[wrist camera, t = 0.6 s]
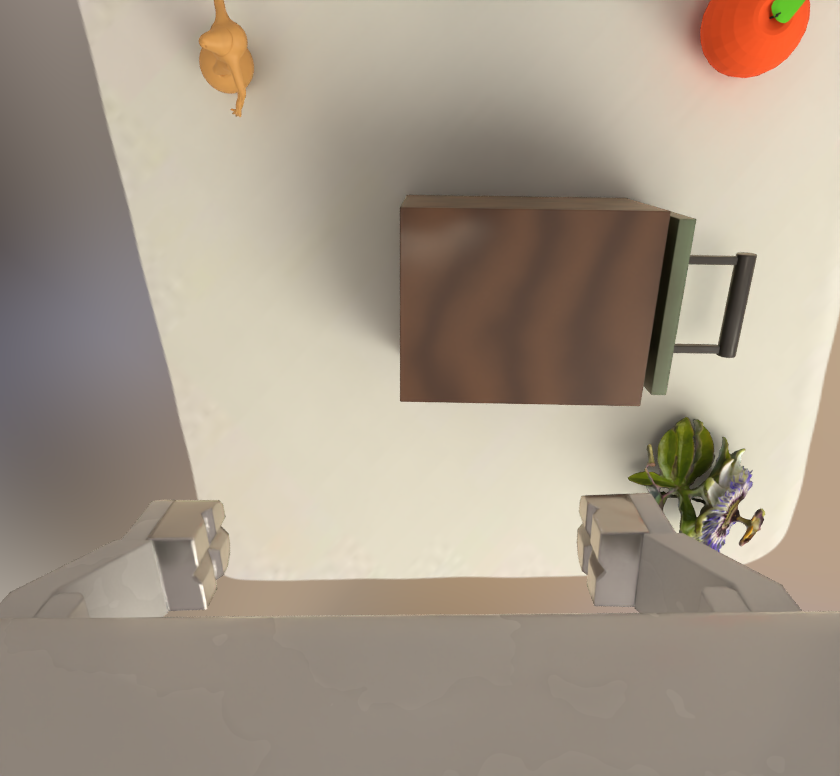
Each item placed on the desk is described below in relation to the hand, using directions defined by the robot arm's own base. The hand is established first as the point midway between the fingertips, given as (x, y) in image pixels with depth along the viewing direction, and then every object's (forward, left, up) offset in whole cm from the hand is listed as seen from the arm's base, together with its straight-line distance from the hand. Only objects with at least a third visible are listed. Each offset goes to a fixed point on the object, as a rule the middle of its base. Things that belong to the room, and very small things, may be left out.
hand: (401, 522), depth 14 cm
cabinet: (+3, +8, -43) cm, 44 cm away
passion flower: (+22, +26, -43) cm, 55 cm away
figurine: (-14, -14, -43) cm, 47 cm away
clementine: (-17, +24, -43) cm, 52 cm away
